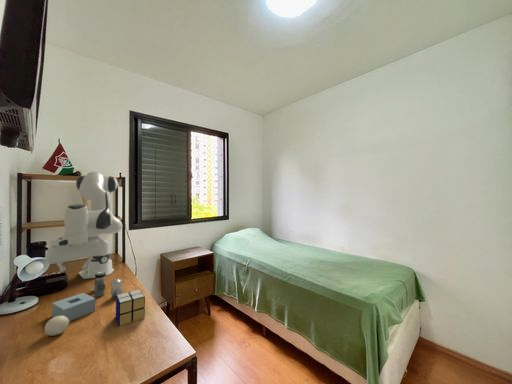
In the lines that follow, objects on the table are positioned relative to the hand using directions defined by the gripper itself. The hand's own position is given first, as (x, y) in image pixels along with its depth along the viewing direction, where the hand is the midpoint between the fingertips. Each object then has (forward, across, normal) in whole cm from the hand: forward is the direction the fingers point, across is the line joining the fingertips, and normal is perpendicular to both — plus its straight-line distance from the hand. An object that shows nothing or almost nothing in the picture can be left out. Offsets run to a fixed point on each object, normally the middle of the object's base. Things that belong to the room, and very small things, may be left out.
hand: (75, 268), depth 101 cm
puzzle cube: (+21, -11, +26) cm, 35 cm away
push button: (+21, -19, -19) cm, 34 cm away
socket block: (+21, 0, 0) cm, 21 cm away
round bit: (+21, -19, 0) cm, 28 cm away
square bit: (+21, -15, -10) cm, 28 cm away
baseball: (+21, +10, +12) cm, 26 cm away
